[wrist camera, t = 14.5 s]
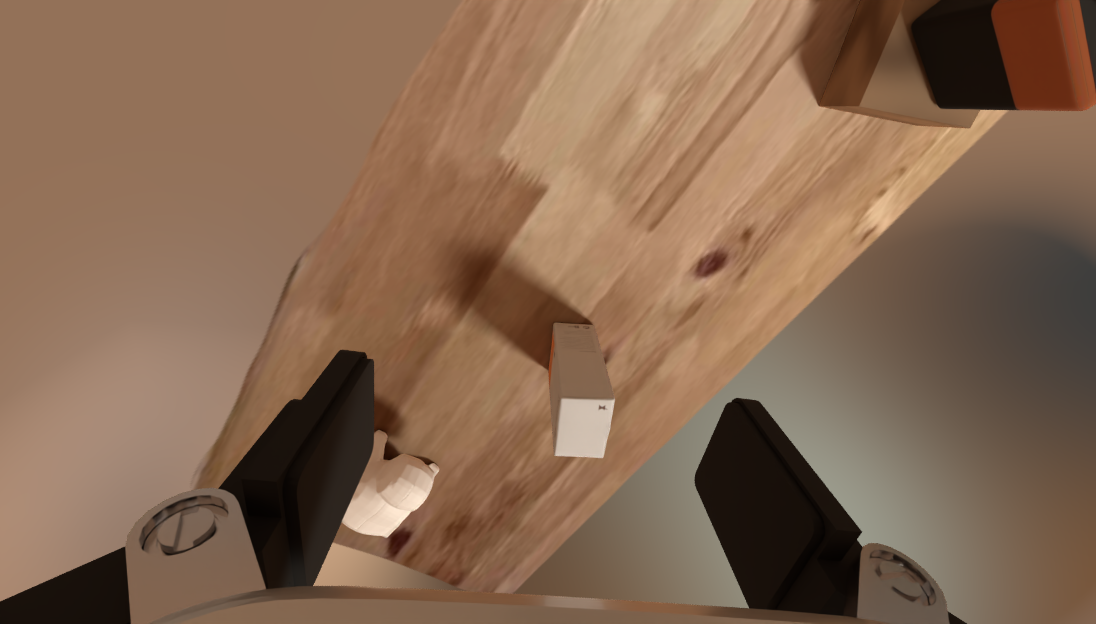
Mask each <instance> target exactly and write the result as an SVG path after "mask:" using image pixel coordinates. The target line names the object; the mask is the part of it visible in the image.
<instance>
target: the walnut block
mask: <svg viewBox="0 0 1096 624" xmlns="http://www.w3.org/2000/svg"><path fill="white" fill-rule="evenodd" d="M939 1H940V0H860V3H859V5H858V8H857V11H856V13H855V16H854V18H853V21H852V23H851V26H850V28H849V31H848V33H847V36H846V38H845V41H844V43H843V46H842V48H841V51H840V54H839V56H838V59H837V61H836V64H835V66H834V69H833V71H832V74H831V76H830V79H829V81H828V84H827V86H826V89H825V92H824V94H823V97H822V99H821V102H820V104H819V106H820V107H825V108H830V109H836V110H841V111H846V112H851V113H856V114H861V115H866V116H871V117H876V118H881V119H886V120H892V121H897V122H902V123H907V124H912V125H917V126H935V127H954V128H970V127H971V126H972V124H973V122H974V120H975V118H976V116H977V115H978V113H979V111H980V110H972V109H941V108H939V107H938V105H937V103H936V100H935V98H934V95H933V92H932V89H931V86H930V83H929V80H928V77H927V74H926V71H925V69H924V66H923V63H922V60H921V57H920V54H919V51H918V48H917V45H916V42H915V40H914V37H913V34H912V30H911V25H912V23H913V22H914V21H915V20H916V19H917V18H918V17H919V16H921V15H922V14H923V13H925V12H926V11H927V10H928V9H930V8H931V7H932V6H934V5H935V4H936V3H938V2H939Z"/></svg>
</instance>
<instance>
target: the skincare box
mask: <svg viewBox="0 0 1096 624" xmlns="http://www.w3.org/2000/svg"><path fill="white" fill-rule="evenodd" d="M548 373H549V389H550V404H551V419H552V433H553V448H554V455H555V456H575V457H595V458H603V456H604V452H605V447H606V442H607V438H608V435H609V431H610V424H611V418H612V413H613V407H614V402H615V397H614V393H613V390H612V386H611V383H610V379H609V376H608V372H607V369H606V365H605V362H604V358H603V355H602V351H601V347H600V344H599V340H598V337H597V333H596V330H595V326H594V325H586V324H569V323H554V324H553V334H552V346H551V354H550V362H549V369H548Z"/></svg>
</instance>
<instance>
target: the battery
mask: <svg viewBox="0 0 1096 624" xmlns="http://www.w3.org/2000/svg"><path fill="white" fill-rule="evenodd" d="M911 30H912V34H913V37H914V40H915V42H916V45H917V48H918V51H919V54H920V57H921V60H922V63H923V66H924V69H925V71H926V74H927V77H928V80H929V83H930V86H931V89H932V92H933V95H934V98H935V100H936V103H937V105H938V107H939V108H941V109H972V110H1044V111H1050V110H1051V111H1083V110H1087V109H1089V108H1090V107H1092V106H1093V105H1095V104H1096V0H940V1H939V2H938V3H936V4H935V5H934V6H932V7H931V8H930V9H928V10H927V11H926V12H925V13H923V14H922V15H921V16H919V17H918V18H917V19H916V20H915V21H914V22H913V23H912V25H911Z"/></svg>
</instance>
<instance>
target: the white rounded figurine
mask: <svg viewBox="0 0 1096 624" xmlns="http://www.w3.org/2000/svg"><path fill="white" fill-rule="evenodd" d="M387 439H388V436H387V434H386V433H385V432H383V431H381V430H378V431H376V432H375V433H374V446H373V451H372V454H371V457H370V459H369V462H368V464H367V466H366V468H365V471H364V473H363V475H362V477H361V480H360V482H359V484H358V486H357V489H356V491H355V493H354V495H353V498H352V500H351V502H350V504H349V506H348V509H347V511H346V513H345V515H344V518H343V520H342V523H344V524H345V525H346V526H347V527H349V528H351V529H353V530H355V531H356V532H359V533H363V534H368V535H375V536H383V537H385V538H387V537H388V536H389V535H390V534H391V533H392V532H393V531H394V530H395V529H396V528H397V527H398V526H399V525H400V523H401V522H402V521H403V520H404V519H405V518H406V517H407V516H408V515H409V514H410V512H411V511H415V510H416V509H417V508H418V507H419V506H420V505H421V504H422V503H423V502H424V501H425V500H426V498H427V496H428V495H429V493H430V490H431V488H432V484H433V480H434V476H435V475H436V474H437V473H438V472H439V470H440V469H439V467H438V466H437V465H436V464H435V463H432V464H430V465H426V464H425V463H424V462H423V461H422V460H420V459H419V458H416V457H413V456H410V455H407V454H401V455H399V456H397V457H396V458H393V459H392V460H383V456H384V448H385V443H386V442H387Z"/></svg>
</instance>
